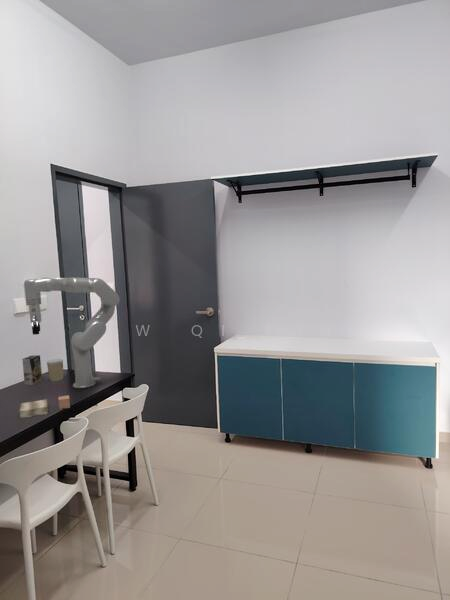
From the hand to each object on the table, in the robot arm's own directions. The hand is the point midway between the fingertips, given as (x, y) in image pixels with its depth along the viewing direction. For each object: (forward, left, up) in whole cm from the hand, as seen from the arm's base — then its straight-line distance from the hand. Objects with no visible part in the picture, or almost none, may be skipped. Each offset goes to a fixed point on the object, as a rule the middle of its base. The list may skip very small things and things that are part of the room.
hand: (36, 332), depth 234 cm
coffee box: (+5, -26, -35) cm, 44 cm away
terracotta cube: (-11, +29, -35) cm, 46 cm away
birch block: (+3, +29, -35) cm, 46 cm away
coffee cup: (-8, -26, -35) cm, 44 cm away
